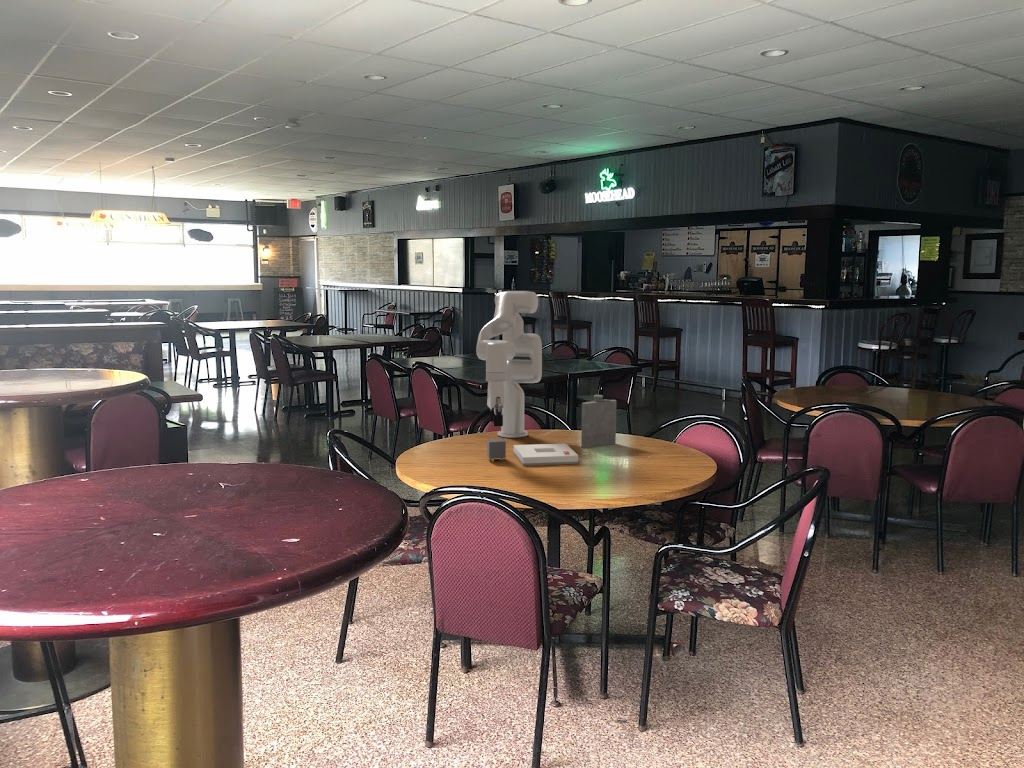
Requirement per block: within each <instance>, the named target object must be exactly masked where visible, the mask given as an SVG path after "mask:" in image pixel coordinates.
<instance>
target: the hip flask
mask: <svg viewBox="0 0 1024 768" xmlns="http://www.w3.org/2000/svg"><path fill="white" fill-rule="evenodd" d="M593 398H594V400H593V401H592V400H591V401H585V402H581V434H580V435H581V438H580V439H581V440H580V442H581V445H580V447H581V448H582V449H589V448H590V449H591V448H596V447H602V446H611V445H613V446H614V445H616V442H617V441H616V440H617V400H616V399H603V398H604V395H602V394H594V395H593Z"/></svg>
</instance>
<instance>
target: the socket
mask: <svg viewBox="0 0 1024 768" xmlns="http://www.w3.org/2000/svg"><path fill="white" fill-rule="evenodd" d="M513 454H514V456H515V457H516V458H517V460H518V461H519V462H520V464H521V465H522V466H523V467H526V466H547V465H548V466H550V465H551V466H552V465H554V466H556V465H579V455H578V454H577V453H576V452H575V450H573V449H572V448H571V446H569V445H568V444H567V443H564V442H563V443H539V444H537V443H536V444H534V443H533V444H513Z"/></svg>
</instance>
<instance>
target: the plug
mask: <svg viewBox="0 0 1024 768" xmlns="http://www.w3.org/2000/svg"><path fill="white" fill-rule="evenodd" d="M486 441H487V449H486V451H487V452H486V454H487V455H486V456H487V457H488V459H490V461H491V462H495V459H499V461H503V460H504V459H506V457H507V454H506V453H507V451H506V447H507V445H506V444H507V442H506V440H505V439H504V438H488V439H486Z"/></svg>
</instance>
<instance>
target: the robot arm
mask: <svg viewBox="0 0 1024 768" xmlns="http://www.w3.org/2000/svg"><path fill="white" fill-rule="evenodd" d="M494 304H495V308H494V310H495V311H494V314H493V319H492V320H489V322H487V323H486V324H485V325H484V326H483V327H482V328H481V330H480V331H479V334H478V337H477V342H476V348H475V349H476V350H475V352H476V356H477V358H478V359H479V360H482V361H485V382H488V383H487V399H486V400H487V401H486V402H487V403H486V405H487V407H488V408H489V409H490V410H489V422H490V423H492V422H493V426H494V427H501V428H500V429H501V430H499V431H497V435H498V436H499V437H501V438H506V439H507V438H509V439H510V438H511V439H516V438H517V439H518V438H525V437H527V436H528V435H529V431H527V430H525V392H524V389H523V388H522V387H521V386H520V384H535V383H536V384H537V383H539V382H540V381H541V379H542V375H543V343H542V338H541V336H540V335H539V334H537V333H525V331H524V319H523V318H522V316H521V315H520V314H534V313H536V312H537V309H538V307H539V297H538V295H537V293H536V292H534V291H529V290H506V291H501V292H498V293H496V294H495V296H494ZM500 335H502V339H492V338H494V337H498V336H500ZM515 357H527V358H530V359H514V358H515Z"/></svg>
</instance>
